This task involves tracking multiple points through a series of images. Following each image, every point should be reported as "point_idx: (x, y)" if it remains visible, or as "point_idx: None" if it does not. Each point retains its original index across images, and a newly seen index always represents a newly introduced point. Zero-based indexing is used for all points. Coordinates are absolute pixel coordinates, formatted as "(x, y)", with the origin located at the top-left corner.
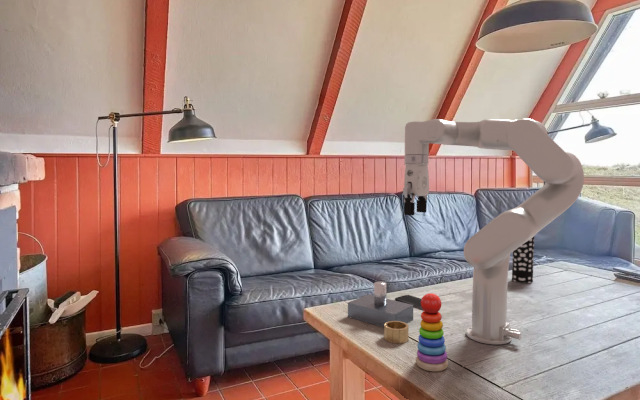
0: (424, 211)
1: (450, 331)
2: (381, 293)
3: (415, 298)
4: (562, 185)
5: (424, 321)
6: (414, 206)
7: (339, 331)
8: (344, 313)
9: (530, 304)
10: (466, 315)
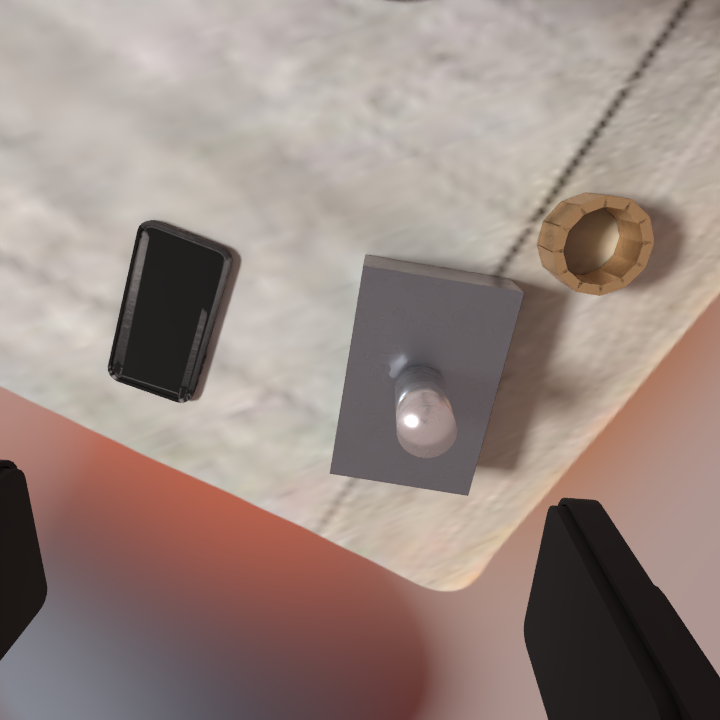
0: (15, 481)
1: (415, 71)
2: (447, 398)
3: (129, 332)
4: None
5: None
6: (644, 626)
7: (599, 429)
8: None
9: None
10: (184, 64)
